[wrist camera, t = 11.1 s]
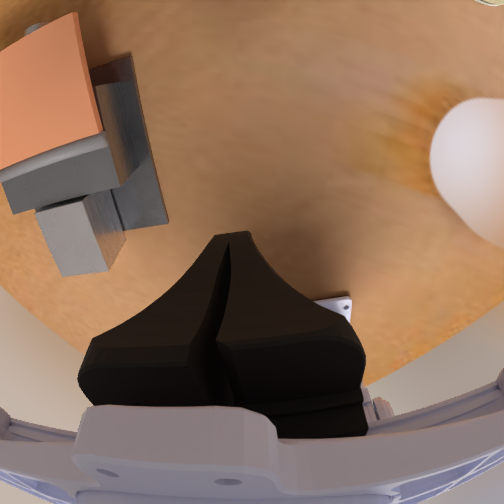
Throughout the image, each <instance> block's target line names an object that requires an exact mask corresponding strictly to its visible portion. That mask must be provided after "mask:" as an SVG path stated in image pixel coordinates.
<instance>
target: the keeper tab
mask: <svg viewBox="0 0 504 504" xmlns="http://www.w3.org/2000/svg"><path fill="white" fill-rule="evenodd" d="M108 144H109V139H108V135H107V133H106V132H105V131H103V127H102V124H101V120H100V116H99V112H98V109H97V105H96V101H95V97H94V93H93V88H92V84H91V80H90V75H89V71H88V66H87V62H86V57H85V52H84V47H83V42H82V36H81V31H80V25H79V19H78V13H76V12H71V13H69V14H67V15H65V16H63V17H61V18H59V19H57V20H55V21H53V22H51V23H49V24H47V25H45V26H43V27H41V28H39V29H37V30H36V31H34V32H32V33H30V34H28V35H27V36H25V37H23V38H21V39H20V40H18V41H16V42H15V43H13V44H12V45H10V46H8V47H7V48H5V49H4V50H2V51H1V52H0V183H2V182H4V181H7V180H9V179H11V178H14V177H17V176H19V175H22V174H24V173H27V172H30V171H32V170H35V169H38V168H41V167H44V166H46V165H49V164H52V163H55V162H58V161H61V160H64V159H67V158H71V157H74V156H77V155H80V154H84V153H87V152H90V151H94V150H97V149H101V148H104V147H107V146H108Z"/></svg>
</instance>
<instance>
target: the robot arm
mask: <svg viewBox="0 0 504 504" xmlns="http://www.w3.org/2000/svg"><path fill="white" fill-rule="evenodd" d="M346 305H347V306H346ZM344 306H346V307H344ZM351 307H352V300H351V298H350V297H348V296H345V297H338V298H332V299H325V300H318V301H311V300H310V299H308V298H306V297H305V296H304V295H302V294H301V293H299V292H298V291H296V290H295V289H294V288H292V287H291V286H290V285H289V284H288V283H286V282H285V281H284V280H283V279H282V278H281V277H280V276H279V275H278V274H277V273H276V272H275V271H274V270H273V269H272V267H271V266H270V265H269V264H268V263H267V261H266V260H265V259H264V257H263V256H262V255H261V253H260V252H259V250H258V249H257V247H256V245H255V243H254V241H253V239H252V235H251V233H250V232H249V231H242V232H234V233H226V234H219V235H214V237H213V238H212V239H211V241H210V242H209V243H208V245H207V246H206V247H205V249H204V250H203V252H202V253H201V254H200V256H199V257H198V258H197V259H196V261H195V262H194V263H193V265H192V266H191V267H190V268H189V269H188V270H187V271H186V273H185V274H184V275H183V276H182V277H181V278H180V279H179V280H178V281H177V282H176V283H175V284H174V285H173V286H172V287H171V288H170V289H169V290H168V291H167V292H166V293H164V294H163V295H162V296H161V297H160V298H158V299H157V300H156V301H154V302H153V303H152V304H151V305H149V306H148V307H147V308H145V309H144V310H143V311H141V312H140V313H138V314H136V315H135V316H133V317H132V318H130V319H129V320H127V321H125V322H124V323H122V324H120V325H118V326H116V327H114V328H112V329H110V330H109V331H107V332H105V333H103V334H101V335H99V336H96V337H94V338H92V340H91V343H90V345H89V347H88V350H87V352H86V355H85V357H84V360H83V363H82V365H81V368H80V370H79V373H78V378H77V379H78V383H79V387H80V388H81V390H82V391H83V393H84V394H85V395H86V397H87V398H88V399H89V400H90V402H91V403H92V404H93V405H94V406H92V407H88V408H87V409H86V411H85V412H84V413H83V415H82V418H81V421H80V425H79V428H78V432H72V431H66V430H61V429H56V428H50V427H46V426H42V425H37V424H33V423H29V422H25V421H21V420H17V419H13V418H11V417H10V415H8V413H7V412H5V410H4V409H2V408H1V407H0V480H1V481H3V482H5V483H7V484H9V485H11V486H14V487H16V488H18V489H21V490H23V491H25V492H27V493H29V494H32V495H34V496H37V497H39V498H41V499H44V500H46V501H49V502H52V503H54V504H417V503H420V502H422V501H425V500H427V499H430V498H432V497H435V496H437V495H439V494H441V493H444V492H446V491H448V490H450V489H453V488H455V487H457V486H459V485H461V484H463V483H465V482H467V481H469V480H471V479H473V478H475V477H477V476H479V475H480V474H482V473H484V472H486V471H488V470H490V469H491V468H493V467H495V466H497V465H499V464H500V463H502V462H504V368H503V370H502V371H501V373H500V374H499V376H498V378H497V380H496V381H494V382H492V383H490V384H487V385H485V386H482V387H480V388H478V389H475V390H473V391H470V392H467V393H465V394H462V395H460V396H457V397H454V398H451V399H449V400H446V401H443V402H440V403H437V404H434V405H431V406H428V407H425V408H421V409H418V410H415V411H411V412H408V413H404V414H401V415H397V416H395V415H394V412H393V410H392V408H391V406H390V404H389V402H387V401H386V400H382V398H381V397H377V398H375V399H373V405H372V402H371V399H370V395H369V392H368V389H367V388H365V387H364V383H363V380H362V378H363V374H364V370H365V365H366V355H365V352H364V349H363V347H362V344H361V342H360V340H359V338H358V336H357V335H356V333H355V331H354V329H353V328H352V326H351V325H350V317H351ZM373 406H374V408H373Z"/></svg>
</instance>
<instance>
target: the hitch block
mask: <svg viewBox="0 0 504 504" xmlns="http://www.w3.org/2000/svg"><path fill="white" fill-rule="evenodd" d="M88 71H89V75H90V80H91V84H92V88H93V93H94V97H95V101H96V105H97V109H98V112H99V116H100V120H101V124H102V127H103V131H105V132H106V133H107V135H108V139H109V144H108V146H107V147H104V148H101V149H97V150H94V151H90V152H87V153H84V154H80V155H77V156H74V157H71V158H67V159H64V160H61V161H58V162H55V163H52V164H49V165H46V166H44V167H41V168H38V169H35V170H32V171H30V172H27V173H24V174H22V175H19V176H17V177H14V178H11V179H9V180H7V181H4V182H2V185H3V188H4V191H5V194H6V197H7V199H8V202H9V205H10V207H11V210H12V212H13V215H14V214H17V213H21V212H24V211H27V210H31V209H34V208H35V210H36V212H37V211H38V210H39V209H40V208H41V207H42V206H45V205H48V204H52V203H56V202H60V201H63V200H67V199H71V198H75V197H79V196H83V195H87V194H91V193H96V192H100V191H104V190H109V189H110V192H111V195H112V198H113V201H114V205H115V208H116V211H117V214H118V217H119V220H120V223H121V226H122V229H123V231H125V230H131V229H137V228H143V227H149V226H155V225H162V224H168V222H169V219H168V216H167V212H166V208H165V204H164V201H163V197H162V193H161V189H160V185H159V181H158V177H157V173H156V169H155V165H154V161H153V156H152V152H151V148H150V143H149V139H148V135H147V130H146V125H145V121H144V116H143V111H142V107H141V102H140V97H139V92H138V86H137V81H136V76H135V70H134V65H133V59H132V56H129V57H126V58H123V59H120V60H117V61H114V62H111V63H108V64H105V65H102V66H99V67H96V68H93V69H91V70H88Z"/></svg>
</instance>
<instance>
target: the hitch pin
mask: <svg viewBox="0 0 504 504" xmlns="http://www.w3.org/2000/svg"><path fill="white" fill-rule="evenodd" d="M49 23H50V22H40V23H37V24H34V25H32V26H30V27H28V28H27V29H26V30H25V31H24V36H27V35H28V34H30V33H32V32H34V31H36V30H37V29H39V28H41V27H43V26H45V25H47V24H49ZM35 216H36V219H37V221H38V224H39V226H40V228H41V231H42V233H43V236H44V238H45V240H46V242H47V245H48V247H49V249H50V251H51V254H52V256H53V258H54V260H55V262H56V264H57V266H58V269H59V271H60V273H61V275H62V277H65V276H73V275H81V274H89V273H97V272H105V271H109V270H110V268H111V266H112V264H113V263H114V261H115V259H116V257H117V255H118V254H119V252H120V250H121V248H122V246H123V245H124V243H125V241H126V237H125V234H124V232H123V229H122V226H121V223H120V220H119V217H118V214H117V211H116V208H115V205H114V201H113V198H112V195H111V192H110V189H109V190H104V191H100V192H96V193H91V194H87V195H83V196H79V197H75V198H71V199H67V200H63V201H60V202H56V203H52V204H48V205H45V206H42V207H41V208H40V209H39V210H38V211H37V212H36V213H35Z"/></svg>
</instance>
